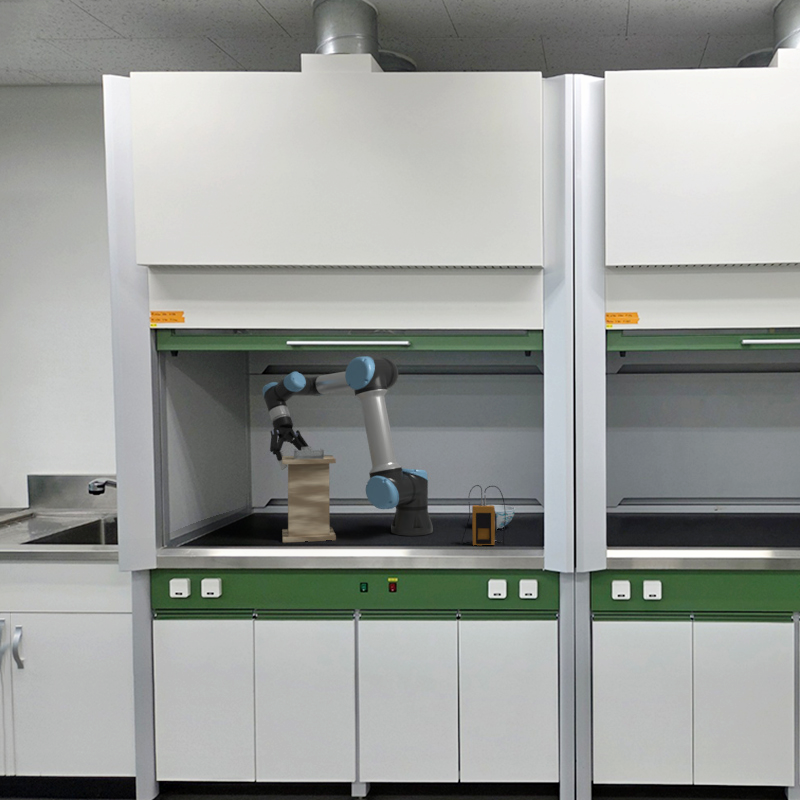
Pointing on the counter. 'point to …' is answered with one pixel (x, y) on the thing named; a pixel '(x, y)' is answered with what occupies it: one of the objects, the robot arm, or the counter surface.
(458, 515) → the counter surface
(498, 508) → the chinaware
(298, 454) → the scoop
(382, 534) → the counter surface
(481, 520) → the multimeter
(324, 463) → the stand
